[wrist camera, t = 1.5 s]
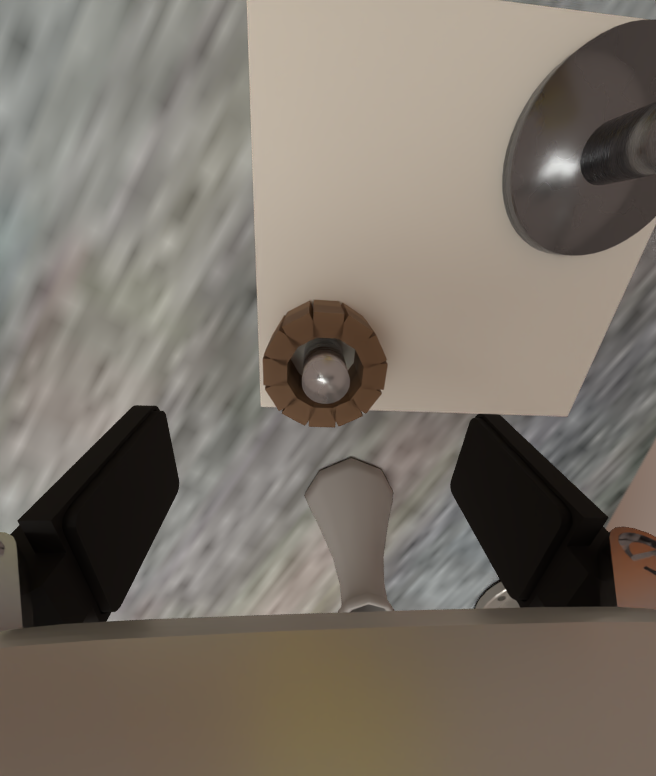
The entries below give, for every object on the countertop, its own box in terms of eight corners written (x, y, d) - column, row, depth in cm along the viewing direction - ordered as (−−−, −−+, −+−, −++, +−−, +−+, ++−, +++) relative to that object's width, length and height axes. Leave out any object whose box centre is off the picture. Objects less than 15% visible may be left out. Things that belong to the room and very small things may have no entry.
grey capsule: (340, 371, 20) (347, 404, 16) (303, 370, 20) (301, 403, 16) (343, 335, 19) (352, 361, 15) (304, 333, 19) (302, 359, 15)
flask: (351, 442, 24) (374, 560, 15) (407, 490, 27) (455, 616, 18) (289, 493, 26) (277, 624, 17) (346, 533, 29) (361, 666, 20)
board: (552, 406, 24) (567, 416, 22) (263, 396, 22) (260, 406, 21) (705, 50, 15) (744, 31, 14) (252, -6, 14) (245, -33, 12)
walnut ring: (367, 400, 21) (377, 428, 18) (271, 397, 21) (264, 425, 17) (380, 303, 18) (395, 316, 15) (270, 297, 18) (260, 309, 15)
